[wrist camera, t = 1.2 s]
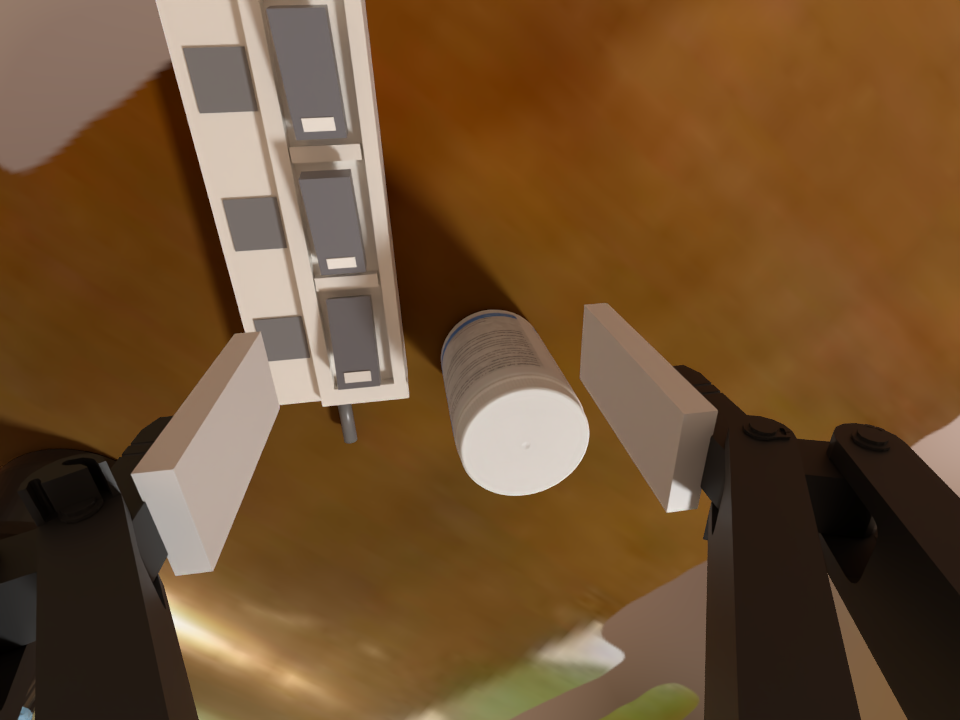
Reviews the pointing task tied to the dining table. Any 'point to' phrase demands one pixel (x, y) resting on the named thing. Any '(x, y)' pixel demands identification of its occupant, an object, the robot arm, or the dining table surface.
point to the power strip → (287, 190)
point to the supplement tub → (510, 405)
